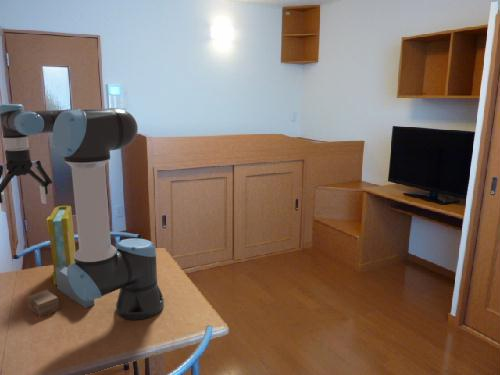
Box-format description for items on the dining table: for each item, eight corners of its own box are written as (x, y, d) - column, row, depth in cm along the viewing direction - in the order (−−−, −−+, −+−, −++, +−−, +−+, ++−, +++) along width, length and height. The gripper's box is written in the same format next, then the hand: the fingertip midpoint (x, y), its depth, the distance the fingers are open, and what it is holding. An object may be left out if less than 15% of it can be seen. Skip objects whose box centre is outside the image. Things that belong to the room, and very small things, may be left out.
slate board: (94, 304, 134) (92, 282, 132) (85, 308, 132) (83, 286, 130) (65, 285, 147) (63, 265, 145) (57, 288, 144) (55, 268, 142)
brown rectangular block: (59, 309, 131) (57, 297, 130) (40, 317, 127) (38, 304, 126) (48, 301, 136) (46, 289, 135) (29, 308, 132) (27, 296, 131)
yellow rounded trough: (74, 282, 149) (67, 218, 143) (54, 284, 147) (46, 219, 141) (79, 263, 165) (73, 205, 159) (61, 265, 163) (54, 206, 157)
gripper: (48, 144, 153) (54, 198, 158) (-28, 152, 134) (-18, 212, 139) (57, 146, 148) (63, 201, 153) (-21, 154, 129) (-11, 217, 135)
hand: (24, 207), depth 146 cm, fingers open, 13 cm apart
